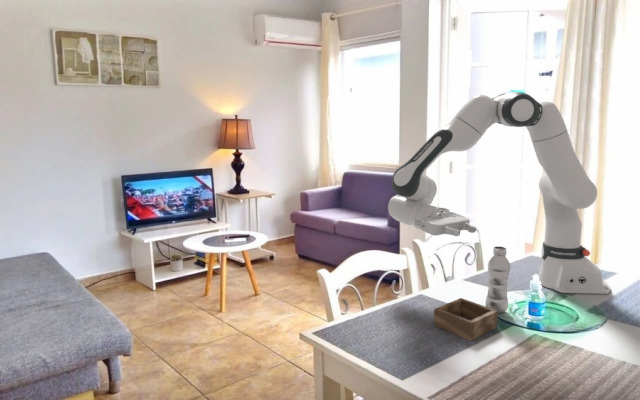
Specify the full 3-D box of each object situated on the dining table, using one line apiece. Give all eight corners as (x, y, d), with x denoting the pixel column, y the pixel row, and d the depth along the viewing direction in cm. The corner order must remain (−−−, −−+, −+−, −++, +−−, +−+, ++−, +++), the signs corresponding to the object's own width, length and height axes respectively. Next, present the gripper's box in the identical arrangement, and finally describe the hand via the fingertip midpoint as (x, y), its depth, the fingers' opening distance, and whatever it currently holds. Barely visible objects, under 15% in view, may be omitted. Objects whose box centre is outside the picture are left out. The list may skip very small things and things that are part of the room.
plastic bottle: (504, 307, 155) (508, 245, 151) (510, 316, 148) (514, 251, 144) (482, 306, 155) (486, 244, 151) (487, 315, 149) (491, 251, 145)
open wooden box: (460, 313, 150) (460, 298, 149) (497, 327, 141) (498, 310, 140) (433, 325, 143) (434, 308, 142) (471, 340, 133) (471, 323, 132)
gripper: (413, 212, 157) (451, 225, 148) (448, 207, 171) (485, 219, 162) (409, 231, 159) (446, 245, 149) (444, 225, 173) (480, 237, 163)
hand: (466, 232), depth 156 cm, fingers open, 8 cm apart
